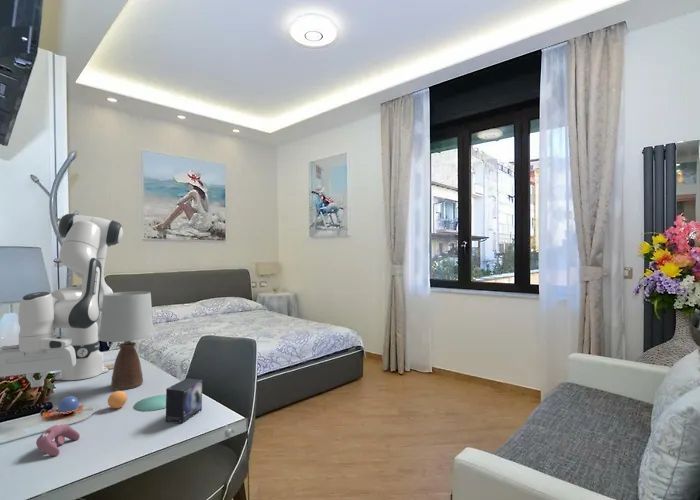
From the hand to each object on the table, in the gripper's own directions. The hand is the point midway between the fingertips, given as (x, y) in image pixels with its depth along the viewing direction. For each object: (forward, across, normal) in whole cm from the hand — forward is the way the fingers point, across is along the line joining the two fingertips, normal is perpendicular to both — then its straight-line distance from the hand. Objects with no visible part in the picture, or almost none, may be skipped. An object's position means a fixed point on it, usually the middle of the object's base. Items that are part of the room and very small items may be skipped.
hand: (37, 386), depth 119 cm
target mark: (+11, +34, 0) cm, 36 cm away
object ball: (+8, +22, 0) cm, 23 cm away
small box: (+12, +44, -16) cm, 48 cm away
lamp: (+10, +21, +24) cm, 34 cm away
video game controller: (+11, +13, -24) cm, 30 cm away
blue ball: (+8, +8, 0) cm, 11 cm away
